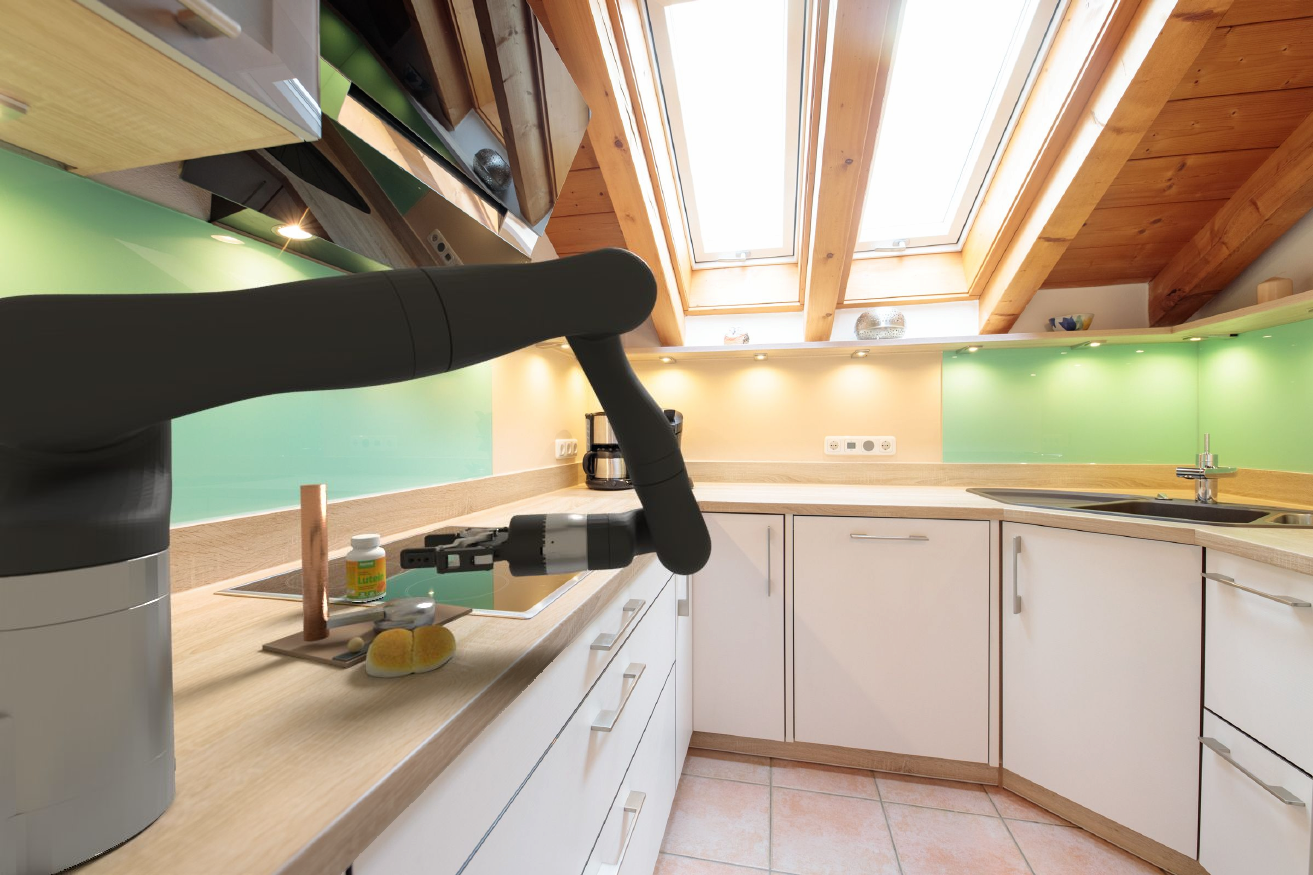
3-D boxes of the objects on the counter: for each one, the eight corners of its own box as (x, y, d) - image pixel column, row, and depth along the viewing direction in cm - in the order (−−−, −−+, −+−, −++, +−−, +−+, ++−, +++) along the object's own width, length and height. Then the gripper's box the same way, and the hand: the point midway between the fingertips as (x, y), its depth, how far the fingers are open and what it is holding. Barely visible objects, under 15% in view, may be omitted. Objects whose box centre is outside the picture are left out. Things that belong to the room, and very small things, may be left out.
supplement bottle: (356, 606, 77) (354, 540, 77) (340, 599, 80) (339, 537, 80) (392, 596, 81) (391, 534, 81) (376, 591, 85) (375, 531, 85)
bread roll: (458, 669, 56) (457, 631, 56) (362, 687, 52) (361, 647, 52) (454, 641, 63) (453, 608, 63) (370, 655, 60) (369, 621, 60)
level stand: (347, 667, 56) (346, 646, 56) (262, 649, 61) (261, 630, 61) (472, 611, 73) (472, 595, 73) (397, 601, 79) (397, 586, 79)
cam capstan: (430, 611, 71) (428, 476, 71) (439, 625, 65) (436, 479, 65) (304, 634, 63) (301, 483, 63) (302, 652, 58) (298, 487, 58)
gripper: (553, 506, 72) (430, 511, 70) (544, 523, 58) (390, 530, 56) (554, 560, 72) (432, 566, 70) (546, 590, 58) (392, 599, 56)
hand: (414, 550), depth 63 cm, fingers open, 8 cm apart
